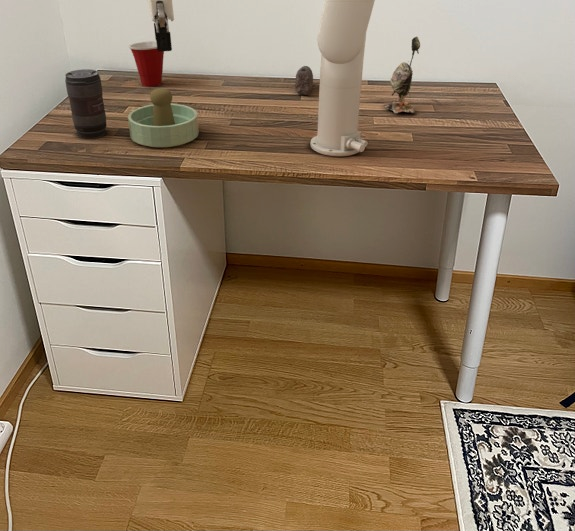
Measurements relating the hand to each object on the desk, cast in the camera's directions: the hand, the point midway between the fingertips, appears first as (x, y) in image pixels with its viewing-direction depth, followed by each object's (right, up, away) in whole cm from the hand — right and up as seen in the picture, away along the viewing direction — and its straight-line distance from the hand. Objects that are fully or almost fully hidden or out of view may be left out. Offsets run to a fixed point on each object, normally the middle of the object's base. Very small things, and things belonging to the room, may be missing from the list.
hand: (163, 45), depth 144 cm
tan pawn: (-2, -18, +11) cm, 21 cm away
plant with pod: (+60, -7, +30) cm, 67 cm away
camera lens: (-20, -18, +12) cm, 29 cm away
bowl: (-2, -19, +11) cm, 22 cm away
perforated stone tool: (+34, +2, +43) cm, 55 cm away
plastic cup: (-13, +5, +46) cm, 48 cm away
